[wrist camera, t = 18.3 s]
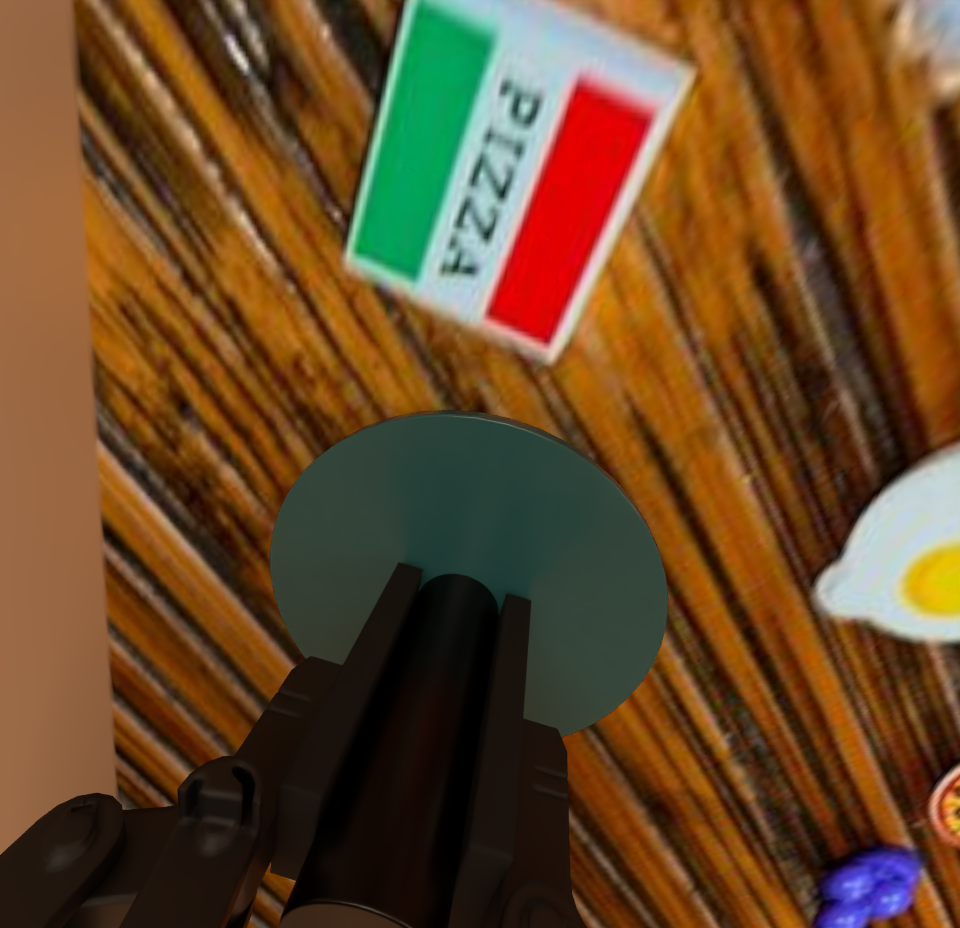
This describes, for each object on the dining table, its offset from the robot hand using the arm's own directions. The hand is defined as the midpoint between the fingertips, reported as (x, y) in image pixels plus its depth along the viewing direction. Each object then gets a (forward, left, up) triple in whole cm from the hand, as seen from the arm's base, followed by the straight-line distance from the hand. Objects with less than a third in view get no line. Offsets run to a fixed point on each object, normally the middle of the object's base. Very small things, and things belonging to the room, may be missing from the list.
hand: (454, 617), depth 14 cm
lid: (0, 0, -1) cm, 1 cm away
